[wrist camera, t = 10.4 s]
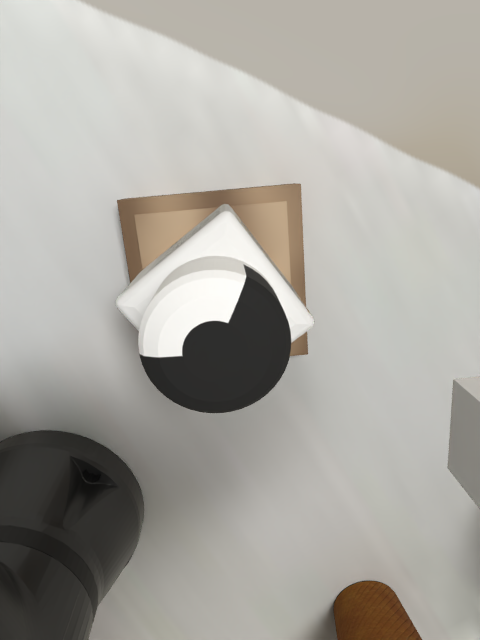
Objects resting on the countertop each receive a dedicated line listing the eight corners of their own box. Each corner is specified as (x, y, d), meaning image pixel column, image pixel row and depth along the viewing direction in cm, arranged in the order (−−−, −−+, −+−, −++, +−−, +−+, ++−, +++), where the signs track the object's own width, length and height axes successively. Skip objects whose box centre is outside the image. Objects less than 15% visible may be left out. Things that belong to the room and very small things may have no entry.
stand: (149, 356, 35) (144, 370, 33) (125, 198, 31) (116, 200, 29) (302, 342, 35) (308, 355, 33) (294, 183, 32) (301, 183, 29)
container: (295, 290, 31) (344, 364, 19) (209, 356, 32) (202, 465, 20) (226, 200, 29) (229, 216, 17) (137, 274, 30) (79, 339, 18)
